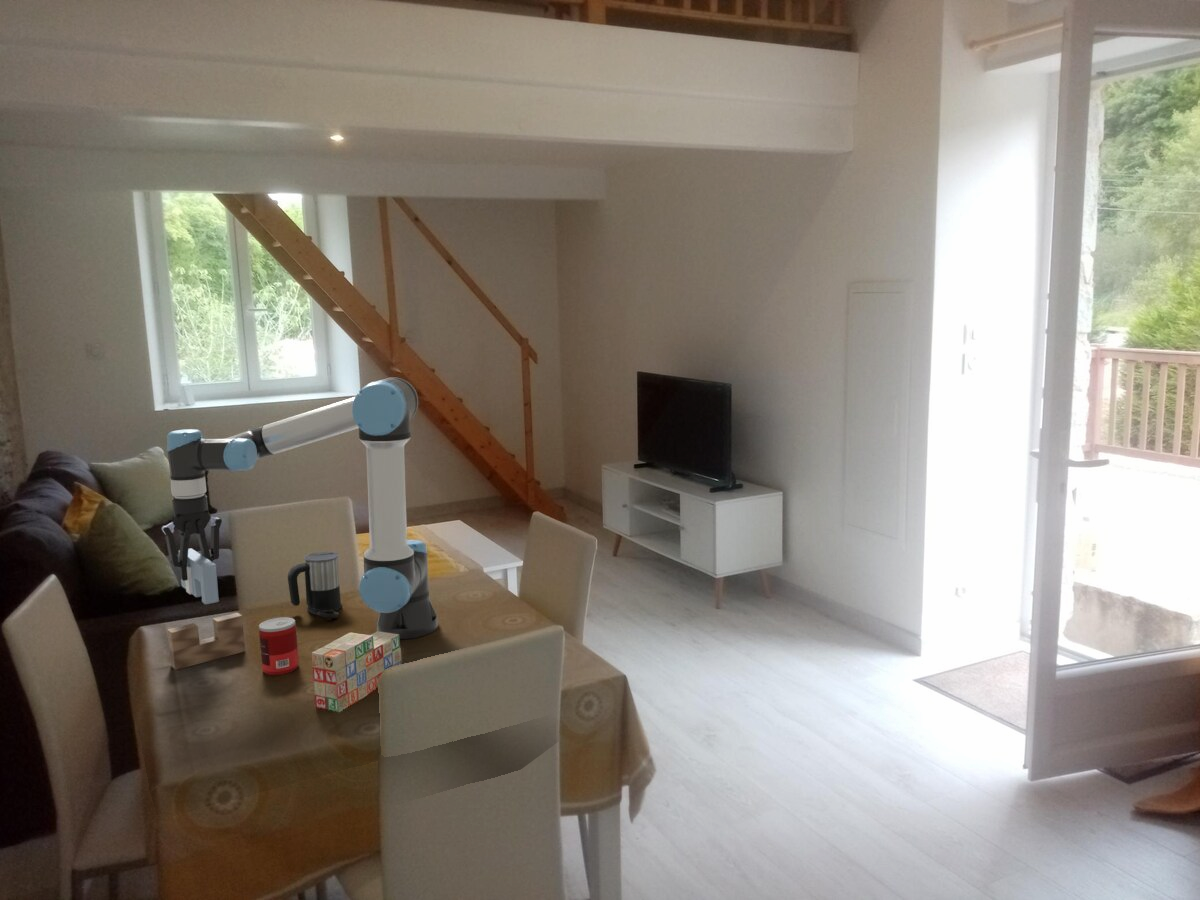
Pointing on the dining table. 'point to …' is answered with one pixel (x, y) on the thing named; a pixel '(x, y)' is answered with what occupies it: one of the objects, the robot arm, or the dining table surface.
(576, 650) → the dining table surface
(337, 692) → the stack of blocks
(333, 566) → the milk frother
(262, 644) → the canned food
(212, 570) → the pale blue flat block
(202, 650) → the light brown wooden block
